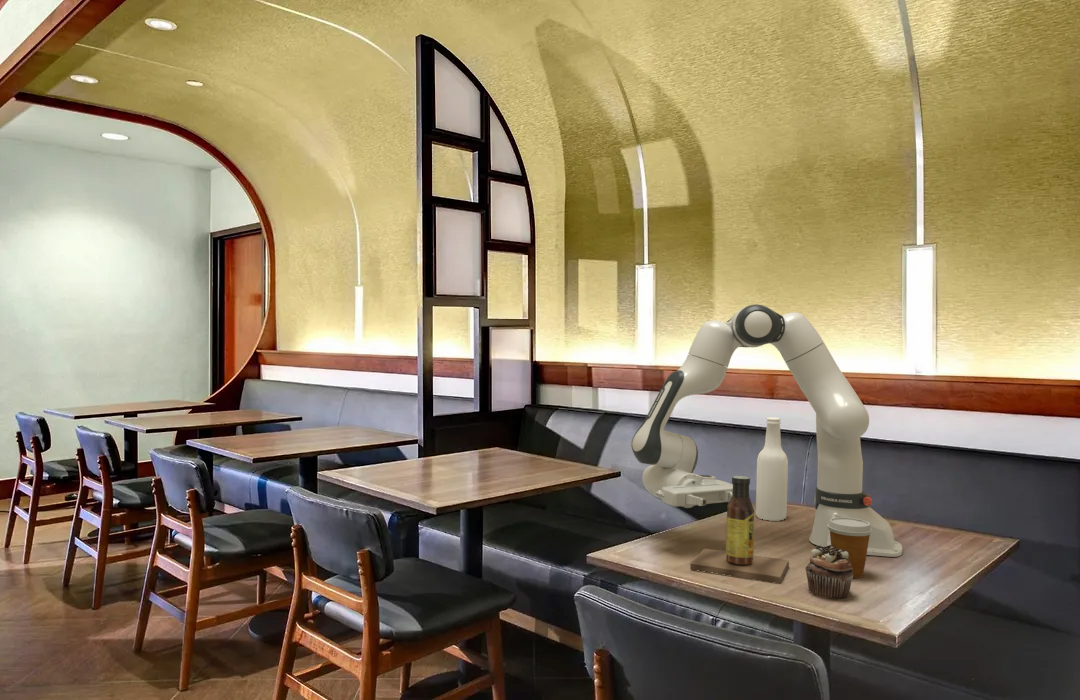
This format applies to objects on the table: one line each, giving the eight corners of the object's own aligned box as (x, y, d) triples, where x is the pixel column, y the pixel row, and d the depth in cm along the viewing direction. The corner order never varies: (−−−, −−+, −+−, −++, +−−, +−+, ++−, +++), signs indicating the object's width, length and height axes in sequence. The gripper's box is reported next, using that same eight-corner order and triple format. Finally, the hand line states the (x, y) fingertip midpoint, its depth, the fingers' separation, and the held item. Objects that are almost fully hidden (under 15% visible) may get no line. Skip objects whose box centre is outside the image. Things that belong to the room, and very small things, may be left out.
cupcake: (862, 595, 161) (863, 548, 160) (835, 604, 155) (836, 555, 155) (822, 582, 168) (823, 537, 168) (795, 590, 163) (796, 544, 163)
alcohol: (773, 513, 232) (776, 415, 232) (792, 520, 224) (795, 419, 223) (749, 515, 229) (752, 416, 228) (768, 522, 221) (771, 419, 220)
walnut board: (788, 566, 180) (788, 560, 180) (780, 583, 167) (780, 577, 167) (704, 554, 188) (704, 548, 188) (690, 570, 175) (690, 563, 175)
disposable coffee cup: (879, 579, 171) (881, 526, 171) (840, 581, 169) (842, 527, 169) (855, 566, 180) (856, 516, 180) (818, 568, 179) (819, 517, 179)
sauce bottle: (754, 567, 173) (756, 480, 173) (726, 565, 175) (728, 479, 174) (752, 559, 180) (754, 475, 179) (724, 557, 181) (727, 474, 181)
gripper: (652, 480, 192) (684, 491, 180) (717, 475, 201) (752, 485, 188) (651, 504, 193) (683, 517, 180) (716, 498, 201) (752, 510, 189)
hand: (719, 501), depth 184 cm, fingers open, 8 cm apart
